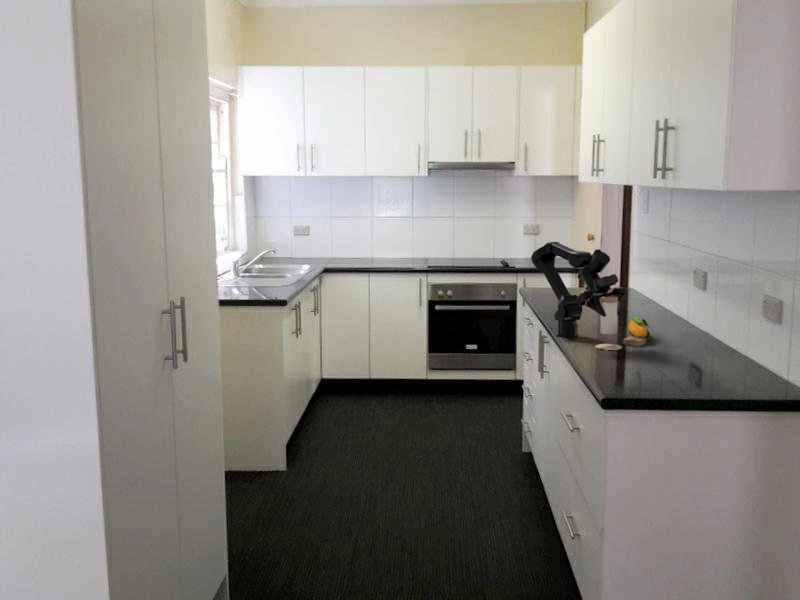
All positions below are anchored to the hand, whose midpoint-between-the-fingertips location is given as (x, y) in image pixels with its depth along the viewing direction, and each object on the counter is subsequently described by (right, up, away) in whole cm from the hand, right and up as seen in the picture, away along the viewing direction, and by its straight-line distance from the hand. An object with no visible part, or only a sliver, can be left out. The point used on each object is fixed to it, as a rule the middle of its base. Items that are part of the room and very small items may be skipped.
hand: (611, 315), depth 294 cm
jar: (-1, -6, +2) cm, 7 cm away
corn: (+15, -9, +17) cm, 25 cm away
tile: (+10, -11, +8) cm, 17 cm away
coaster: (0, -12, +3) cm, 12 cm away
